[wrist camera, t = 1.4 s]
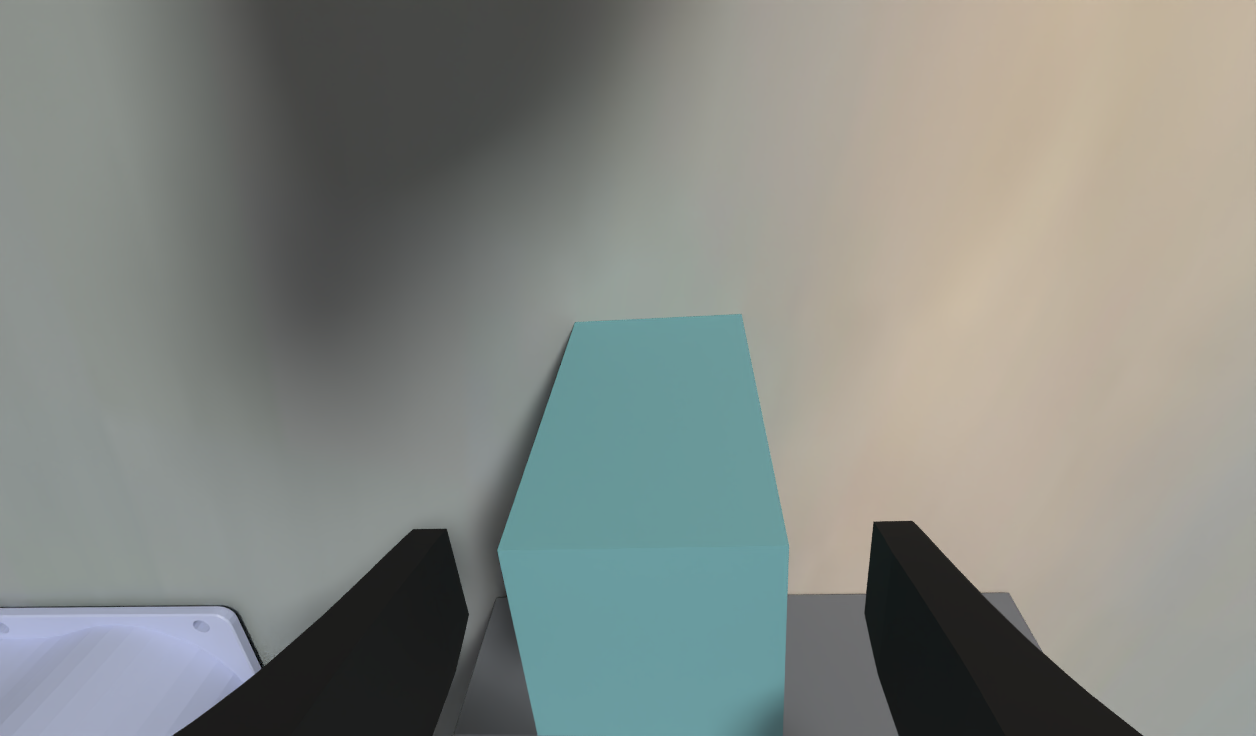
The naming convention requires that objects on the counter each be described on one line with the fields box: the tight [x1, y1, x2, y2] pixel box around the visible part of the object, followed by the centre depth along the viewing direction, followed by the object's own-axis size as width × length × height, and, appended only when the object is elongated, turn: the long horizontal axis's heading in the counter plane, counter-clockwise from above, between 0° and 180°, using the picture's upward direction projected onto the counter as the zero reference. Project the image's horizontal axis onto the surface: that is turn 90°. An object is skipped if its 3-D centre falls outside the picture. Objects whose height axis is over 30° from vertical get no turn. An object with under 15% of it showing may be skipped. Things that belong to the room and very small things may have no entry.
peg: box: [497, 314, 789, 736], centre depth 14 cm, size 4×4×8 cm
